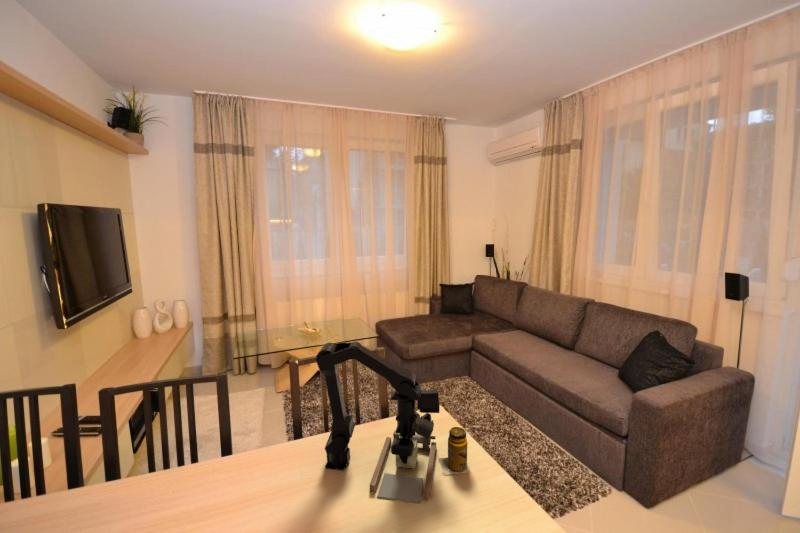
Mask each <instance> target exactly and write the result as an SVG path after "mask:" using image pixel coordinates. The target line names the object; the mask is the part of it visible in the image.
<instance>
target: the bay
mask: <svg viewBox="0 0 800 533" xmlns="http://www.w3.org/2000/svg"><path fill="white" fill-rule="evenodd" d="M392 435H393V436H392V437H391V436H387V437H386V438H385V441H384V443H383V446H382V449H381V451H380V455H379V457H378V460H377V462H376V466H375V468H374V471H373V475H372V477H371V479H370V482H369V493H373V494H375V493H376V491H377V488H378V486H379V482H380V479H381V476H382V474H383V471H384V467H385V464H386V461H387V458H388V455H389V452H390V450H391V445H392V441H393V440H394V439H395V438H399V437H402V436H400V433H396V429H395V430H394V431H393V434H392ZM392 438H393V439H392ZM413 438H416V439H417V444H420V445H422V450H426V451H427V450H429V448H430V450H429V455H428V462H427V468H426V473H425V474H426V475H425V478H424V486H423V494H422V495H423V497H422V498H423V500H424V501H430V496H431V489H432V483H433V477H434V468H435V467H434V466H435V459H436V455H437V454H436V452H437V442H436V441H432V440H436V436H435V435H431V436H430V438H429V439H426V438H425V437H423V436H421V435H418V434H417V433H415V436H413Z"/></svg>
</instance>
